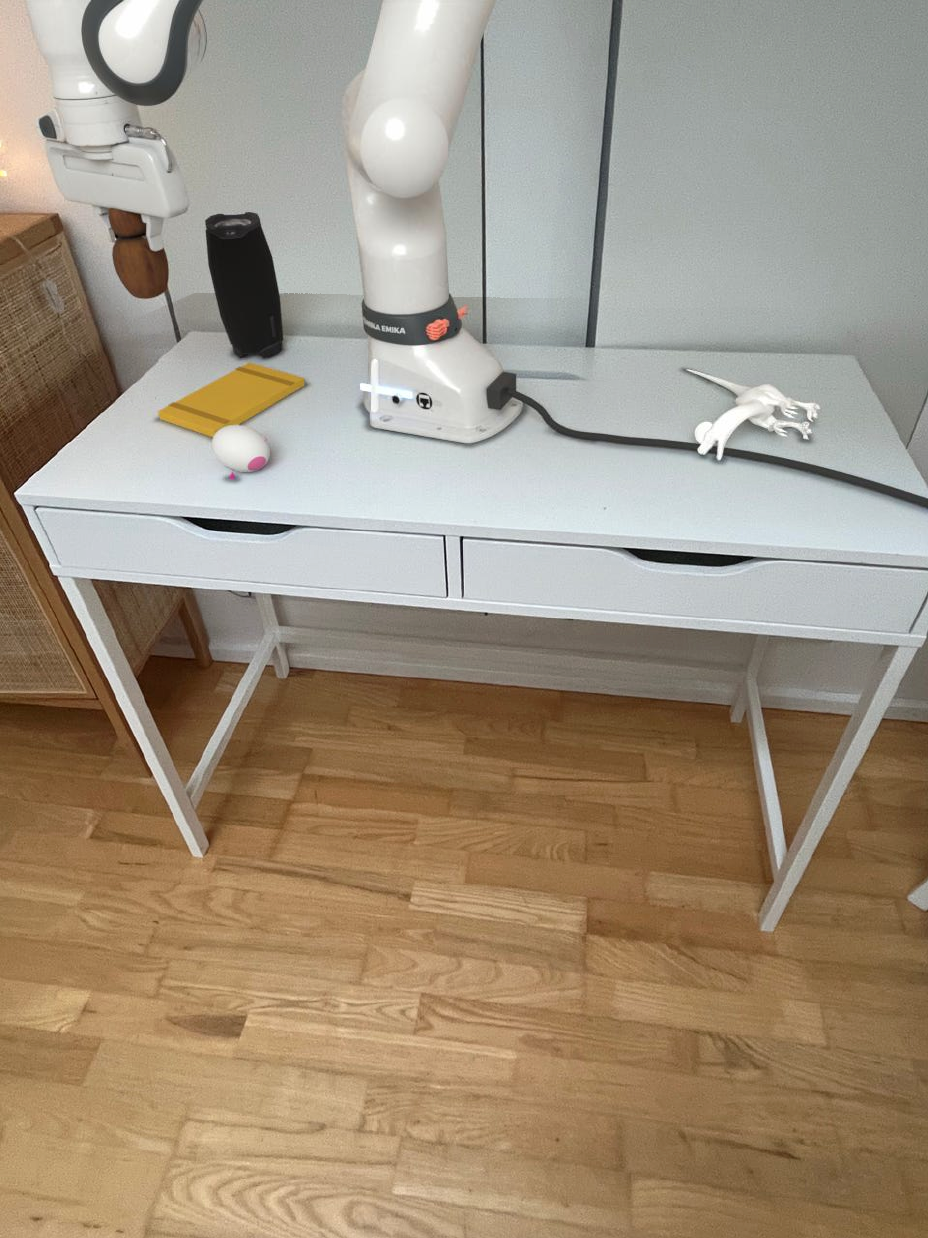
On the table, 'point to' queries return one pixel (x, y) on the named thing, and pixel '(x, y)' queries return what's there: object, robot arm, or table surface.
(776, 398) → the dinosaur
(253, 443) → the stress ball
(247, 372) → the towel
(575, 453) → the table surface
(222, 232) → the portable speaker
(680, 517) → the table surface
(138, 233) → the wooden figurine
